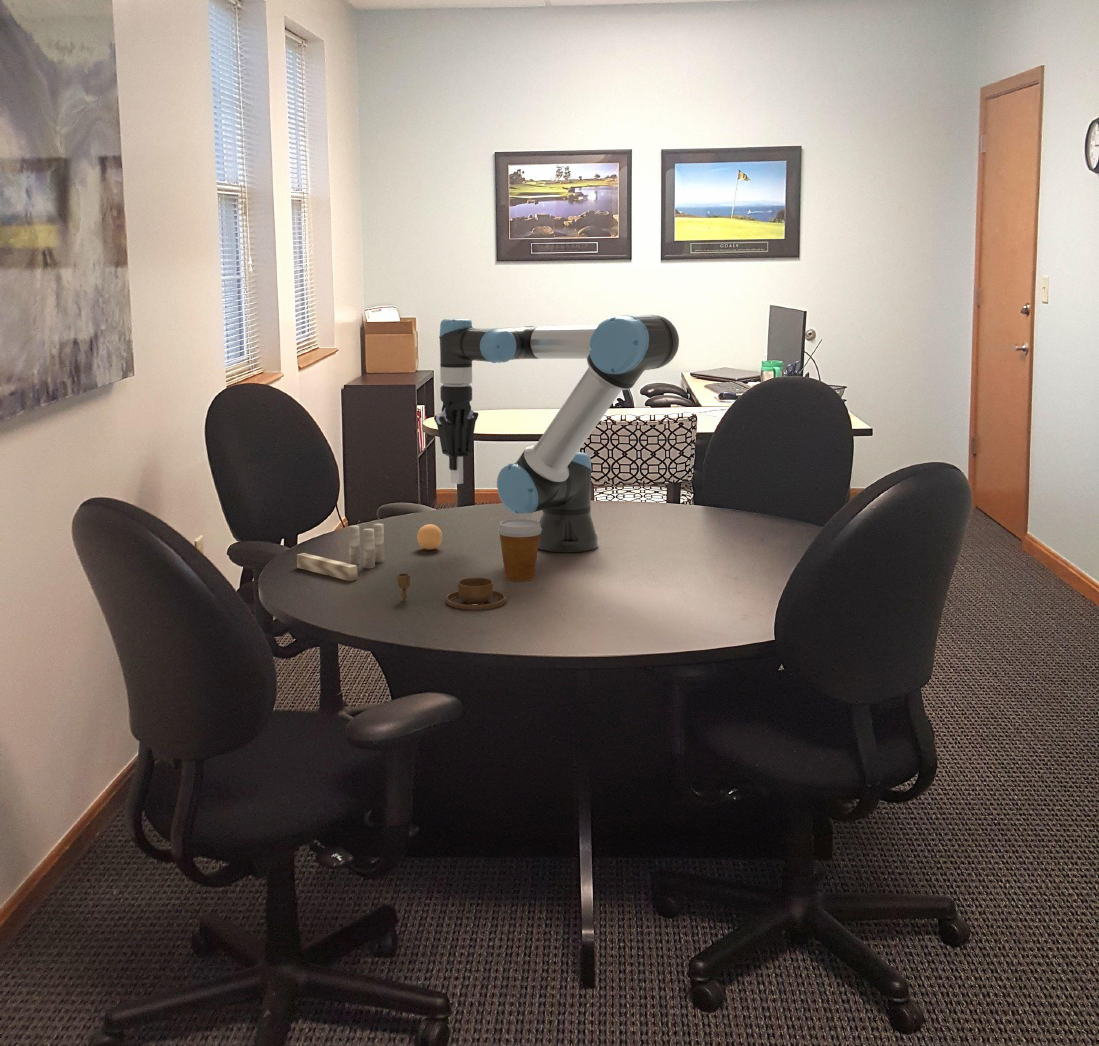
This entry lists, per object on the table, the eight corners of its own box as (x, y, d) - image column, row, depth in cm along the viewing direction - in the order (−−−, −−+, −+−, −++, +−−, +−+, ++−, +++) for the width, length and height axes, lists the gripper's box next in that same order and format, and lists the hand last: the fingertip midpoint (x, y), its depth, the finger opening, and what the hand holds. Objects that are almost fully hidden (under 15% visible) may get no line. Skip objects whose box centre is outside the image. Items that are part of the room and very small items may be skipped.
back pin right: (362, 563, 267) (361, 526, 266) (354, 565, 266) (353, 528, 264) (355, 561, 269) (354, 524, 267) (347, 563, 267) (346, 526, 265)
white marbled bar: (357, 579, 253) (357, 565, 253) (350, 581, 252) (349, 567, 251) (304, 566, 265) (304, 552, 264) (297, 567, 263) (296, 554, 263)
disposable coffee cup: (536, 584, 250) (536, 528, 247) (492, 582, 252) (492, 526, 249) (546, 573, 259) (546, 519, 256) (503, 571, 261) (503, 517, 258)
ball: (448, 549, 282) (447, 524, 280) (429, 553, 277) (429, 528, 276) (430, 545, 286) (430, 520, 284) (412, 549, 281) (411, 524, 280)
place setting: (472, 620, 226) (471, 590, 225) (392, 604, 237) (391, 575, 236) (524, 600, 240) (524, 572, 239) (447, 586, 251) (446, 559, 250)
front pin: (386, 561, 270) (385, 524, 268) (378, 563, 268) (377, 526, 266) (379, 559, 271) (378, 523, 269) (371, 561, 269) (370, 524, 268)
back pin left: (377, 566, 264) (376, 529, 263) (369, 568, 263) (367, 531, 261) (370, 565, 266) (369, 528, 264) (361, 567, 264) (360, 529, 262)
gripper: (464, 381, 288) (464, 477, 293) (425, 385, 278) (426, 484, 283) (486, 384, 283) (486, 481, 288) (447, 387, 273) (448, 488, 278)
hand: (457, 482), depth 286 cm, fingers closed
